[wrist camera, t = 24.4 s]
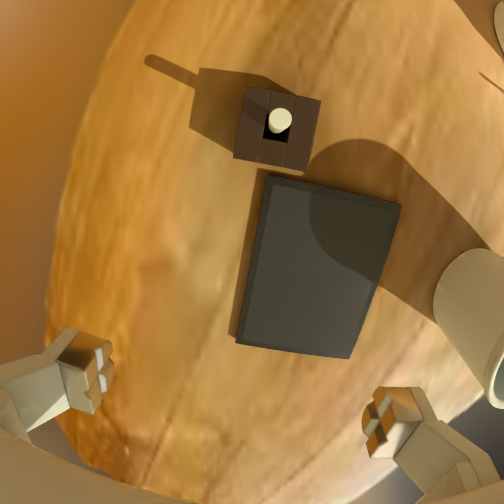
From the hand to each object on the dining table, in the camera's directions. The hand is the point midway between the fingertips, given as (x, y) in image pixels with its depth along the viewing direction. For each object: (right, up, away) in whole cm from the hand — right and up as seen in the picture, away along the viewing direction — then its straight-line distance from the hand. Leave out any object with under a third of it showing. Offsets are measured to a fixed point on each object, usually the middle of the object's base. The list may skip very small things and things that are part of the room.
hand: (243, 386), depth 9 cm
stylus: (+3, +17, +25) cm, 30 cm away
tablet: (+8, +1, +30) cm, 31 cm away
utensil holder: (+32, -2, +30) cm, 44 cm away
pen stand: (+3, +17, +25) cm, 30 cm away
